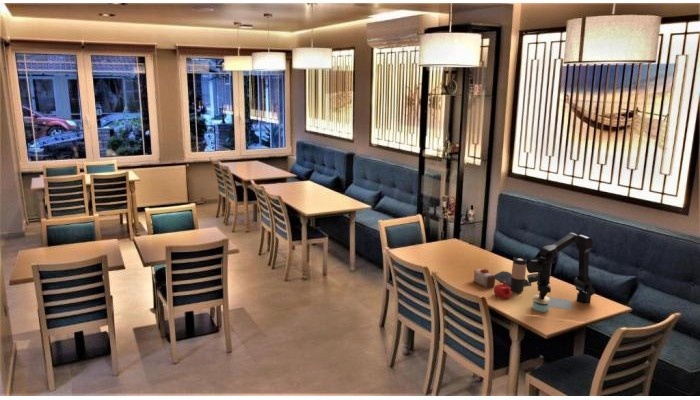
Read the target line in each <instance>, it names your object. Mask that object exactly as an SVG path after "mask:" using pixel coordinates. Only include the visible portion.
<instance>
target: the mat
mask: <svg viewBox="0 0 700 400" xmlns="http://www.w3.org/2000/svg"><path fill="white" fill-rule="evenodd" d="M547 297H548V298H550V299H551V301H550V303H549V308H553V309H554V308H555V309H562V310H570V311H574V308H573V303H572V301H571V299H565V298H558V297H551V296H550V297H549V296H547Z"/></svg>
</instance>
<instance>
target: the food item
mask: <svg viewBox="0 0 700 400" xmlns="http://www.w3.org/2000/svg"><path fill="white" fill-rule="evenodd" d="M473 283H475V284H478V285H480V286H481V287H483V288H485V289H486V290H489V289H494V287H495V286H496V285H495V284H496V279H495V274H492V273H491V272H490V271H489V269H487V268H486V269H485V268H484V269H482V268H476V269H474V272H473Z"/></svg>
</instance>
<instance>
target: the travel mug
mask: <svg viewBox="0 0 700 400" xmlns="http://www.w3.org/2000/svg"><path fill="white" fill-rule="evenodd" d="M527 261H528V260H527V258H525V257H523V256H513V260H512V266H511V267H512V268H511V274H512V275H511V287H510V289H511V291H512V293H515V294H521V293H522V292H524V289H525V288H524V287H525V286H524V281H525V279H526V274H527V273H526V271H527V268H526V266H527V264H528V263H527Z"/></svg>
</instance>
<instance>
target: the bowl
mask: <svg viewBox="0 0 700 400" xmlns="http://www.w3.org/2000/svg"><path fill="white" fill-rule="evenodd" d="M531 306H532V309H534V311H537V312H543V313H545V312H548V311H549V308H550V307H549V303H548V304H541V303H537V302H535V301H533V300H532V305H531Z"/></svg>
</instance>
